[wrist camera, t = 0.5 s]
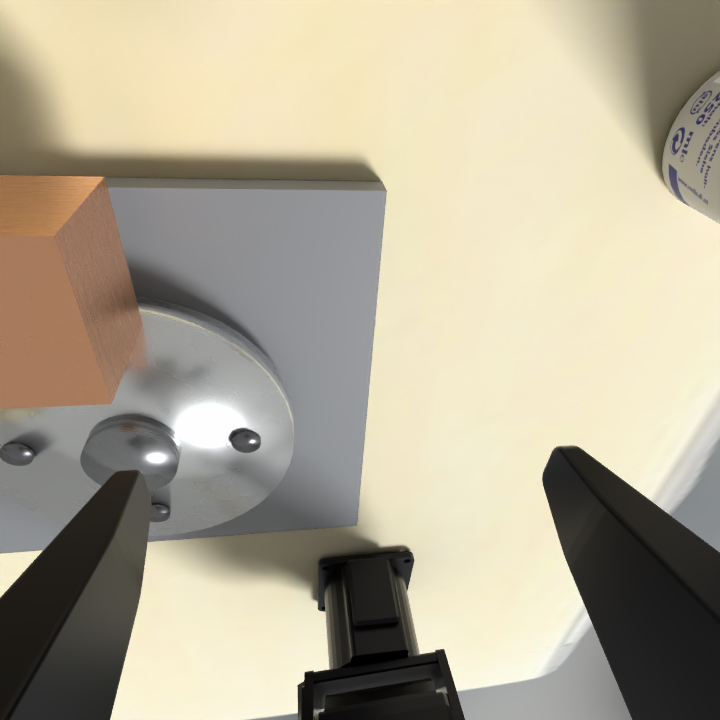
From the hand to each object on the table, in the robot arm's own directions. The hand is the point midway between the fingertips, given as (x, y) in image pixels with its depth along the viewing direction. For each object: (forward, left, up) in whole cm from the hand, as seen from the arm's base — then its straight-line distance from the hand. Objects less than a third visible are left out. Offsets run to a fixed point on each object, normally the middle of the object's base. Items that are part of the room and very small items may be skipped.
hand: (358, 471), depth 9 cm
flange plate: (-6, +8, -10) cm, 14 cm away
